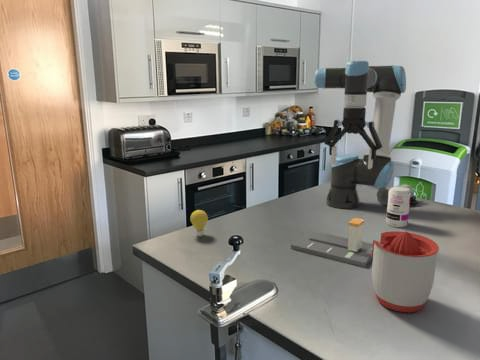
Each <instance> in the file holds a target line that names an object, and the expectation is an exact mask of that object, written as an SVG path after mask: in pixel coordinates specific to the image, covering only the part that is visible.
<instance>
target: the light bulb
mask: <svg viewBox="0 0 480 360" xmlns="http://www.w3.org/2000/svg"><path fill="white" fill-rule="evenodd" d="M189 220H190V223H191V224H192V226H193V227H194V229H195V231H194V232H195V234H196V236H197V237H203V236H204V232H205V229H204V228H205V227H206V225H207V223H208V220H209V217H208V214H207V213H206V212H205V211H204V210H201V209H197V210H194V211H193V212H191V214H190V219H189Z"/></svg>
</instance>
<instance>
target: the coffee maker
mask: <svg viewBox="0 0 480 360" xmlns="http://www.w3.org/2000/svg"><path fill="white" fill-rule="evenodd" d="M396 186H399V187H406V188H409V190H410V192H411V197H410V206H412V207H415V206H417V205H418V200H417V197H416V196H415V195H414V194H415V191H414V189H413V187H412V186H411V185H410V184H406V183H405V184H400V185H398V184H397V185H396ZM390 189H391V187H388V186H386V187H378V191H377V193H376V197H377V201H378V203H379V204H380V205H381V206H387V205H388V193H389V190H390Z"/></svg>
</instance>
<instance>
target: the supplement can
mask: <svg viewBox="0 0 480 360" xmlns="http://www.w3.org/2000/svg"><path fill="white" fill-rule="evenodd" d="M399 186H400V185H399ZM399 186H397V185H396V186H395V185H394V186H391V187H390V188H391V189H390V190H389V193H388V205H386V218H385V222H386V224H387V225H388V226H390V227H393V228H399V229H400V228H406V227H407V226H408V224H409V216H410V215H409V213H410V206H411V205H410V197H411V192H410V190H409V188H406V187H399Z"/></svg>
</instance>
